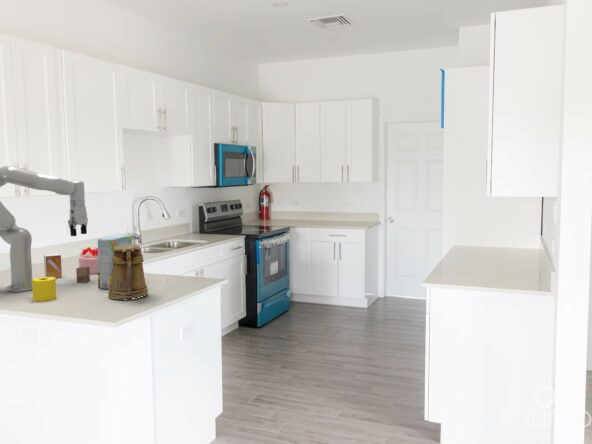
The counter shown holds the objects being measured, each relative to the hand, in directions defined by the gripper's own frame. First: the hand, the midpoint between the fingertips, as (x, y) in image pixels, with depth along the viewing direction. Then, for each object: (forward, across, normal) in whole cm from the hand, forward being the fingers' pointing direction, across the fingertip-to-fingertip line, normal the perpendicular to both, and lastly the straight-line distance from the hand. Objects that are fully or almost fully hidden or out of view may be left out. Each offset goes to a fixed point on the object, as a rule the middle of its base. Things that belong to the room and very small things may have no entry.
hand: (78, 234), depth 289 cm
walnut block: (+25, -4, -4) cm, 26 cm away
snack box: (+26, -8, -26) cm, 37 cm away
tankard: (+26, -32, -45) cm, 61 cm away
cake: (+26, +26, +5) cm, 37 cm away
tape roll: (+26, -41, -7) cm, 49 cm away
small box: (+26, +5, +20) cm, 33 cm away
